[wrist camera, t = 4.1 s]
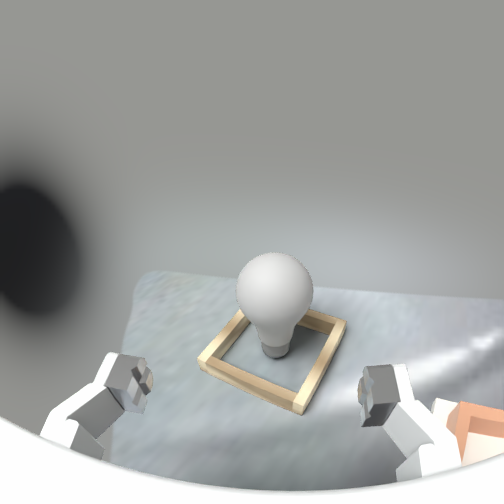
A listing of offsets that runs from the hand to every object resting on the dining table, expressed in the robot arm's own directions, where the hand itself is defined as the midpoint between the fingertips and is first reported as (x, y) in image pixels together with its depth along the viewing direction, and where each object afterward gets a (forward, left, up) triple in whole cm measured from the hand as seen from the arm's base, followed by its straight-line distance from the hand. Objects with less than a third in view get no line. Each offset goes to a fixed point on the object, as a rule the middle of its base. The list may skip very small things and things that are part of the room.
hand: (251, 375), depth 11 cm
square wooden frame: (-11, -5, -15) cm, 19 cm away
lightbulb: (-11, -5, -15) cm, 20 cm away
